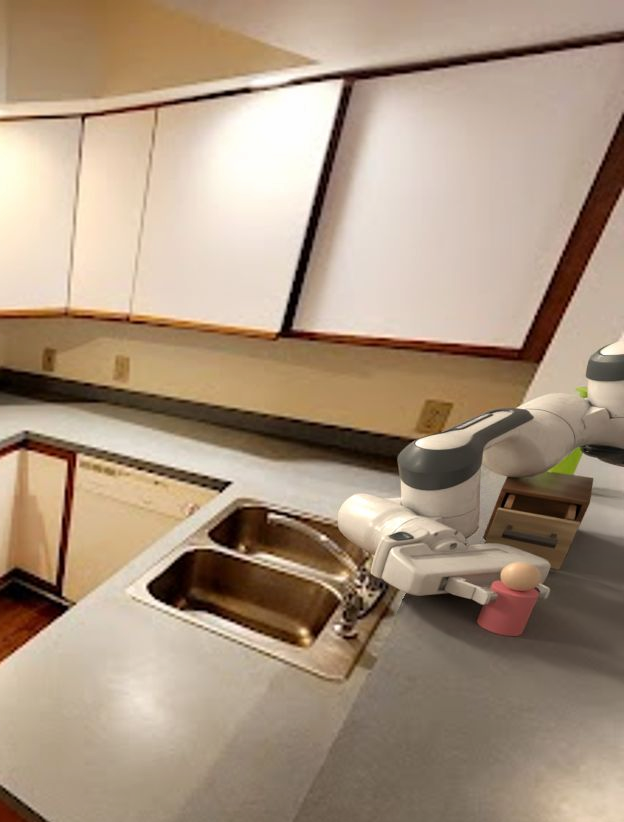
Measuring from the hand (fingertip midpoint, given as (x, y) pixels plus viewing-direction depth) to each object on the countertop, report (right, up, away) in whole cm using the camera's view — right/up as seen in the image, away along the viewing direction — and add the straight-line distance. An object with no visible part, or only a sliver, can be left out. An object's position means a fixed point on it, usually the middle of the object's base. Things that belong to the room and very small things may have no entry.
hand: (517, 597), depth 82 cm
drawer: (+20, +6, +20) cm, 29 cm away
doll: (0, -4, +3) cm, 5 cm away
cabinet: (+29, +9, +27) cm, 41 cm away
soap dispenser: (+52, +18, +46) cm, 72 cm away
